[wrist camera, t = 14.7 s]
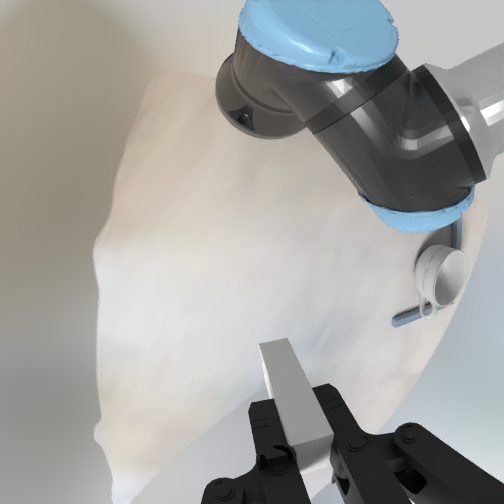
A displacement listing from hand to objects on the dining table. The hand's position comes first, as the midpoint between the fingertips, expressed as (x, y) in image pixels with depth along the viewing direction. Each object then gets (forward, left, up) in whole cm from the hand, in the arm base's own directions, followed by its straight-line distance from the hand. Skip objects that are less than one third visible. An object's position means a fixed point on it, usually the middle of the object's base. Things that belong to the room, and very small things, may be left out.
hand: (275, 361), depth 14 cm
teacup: (+12, +35, -27) cm, 45 cm away
